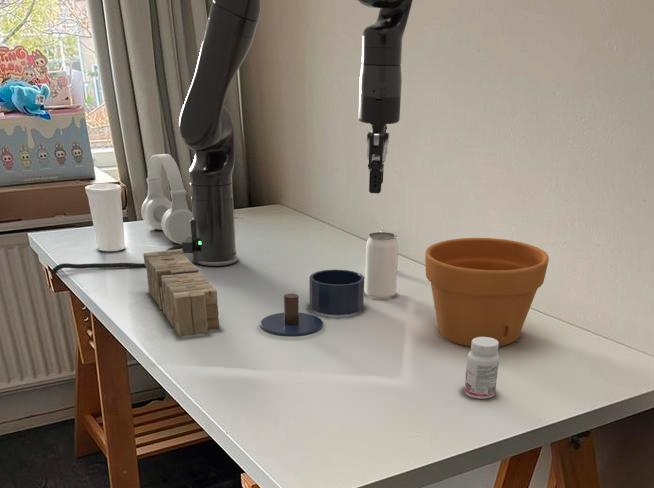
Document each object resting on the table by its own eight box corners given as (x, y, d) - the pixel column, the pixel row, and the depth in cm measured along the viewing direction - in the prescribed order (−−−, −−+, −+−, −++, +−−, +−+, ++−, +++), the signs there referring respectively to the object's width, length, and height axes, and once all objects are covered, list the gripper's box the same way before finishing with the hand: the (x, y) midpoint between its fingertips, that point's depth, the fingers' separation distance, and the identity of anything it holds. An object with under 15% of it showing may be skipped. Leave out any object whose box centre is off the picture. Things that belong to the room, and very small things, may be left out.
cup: (136, 248, 187) (128, 186, 180) (110, 255, 181) (102, 191, 174) (112, 243, 191) (104, 181, 183) (86, 250, 185) (77, 187, 177)
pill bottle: (460, 386, 121) (466, 335, 117) (490, 386, 122) (497, 335, 117) (467, 400, 117) (473, 347, 113) (498, 399, 118) (505, 346, 113)
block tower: (222, 338, 140) (185, 286, 162) (219, 293, 135) (181, 246, 157) (178, 343, 137) (147, 290, 159) (174, 297, 132) (142, 249, 155)
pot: (306, 316, 148) (306, 284, 145) (313, 299, 157) (313, 268, 154) (360, 319, 147) (361, 286, 144) (365, 301, 156) (366, 270, 153)
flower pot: (462, 363, 129) (471, 275, 122) (398, 324, 145) (402, 244, 138) (561, 344, 138) (575, 260, 130) (490, 308, 154) (499, 232, 146)
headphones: (200, 242, 193) (194, 159, 182) (168, 246, 189) (159, 162, 179) (172, 225, 207) (165, 147, 197) (142, 229, 203) (132, 149, 193)
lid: (255, 337, 138) (253, 304, 135) (266, 316, 148) (265, 284, 144) (318, 341, 137) (318, 307, 134) (326, 319, 147) (326, 287, 144)
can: (399, 292, 162) (402, 233, 156) (390, 301, 157) (394, 240, 150) (370, 288, 164) (372, 230, 157) (360, 297, 158) (362, 237, 152)
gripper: (361, 89, 145) (358, 180, 153) (356, 96, 133) (353, 195, 141) (401, 90, 145) (396, 182, 153) (400, 97, 132) (394, 196, 141)
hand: (376, 188), depth 147 cm, fingers open, 8 cm apart
